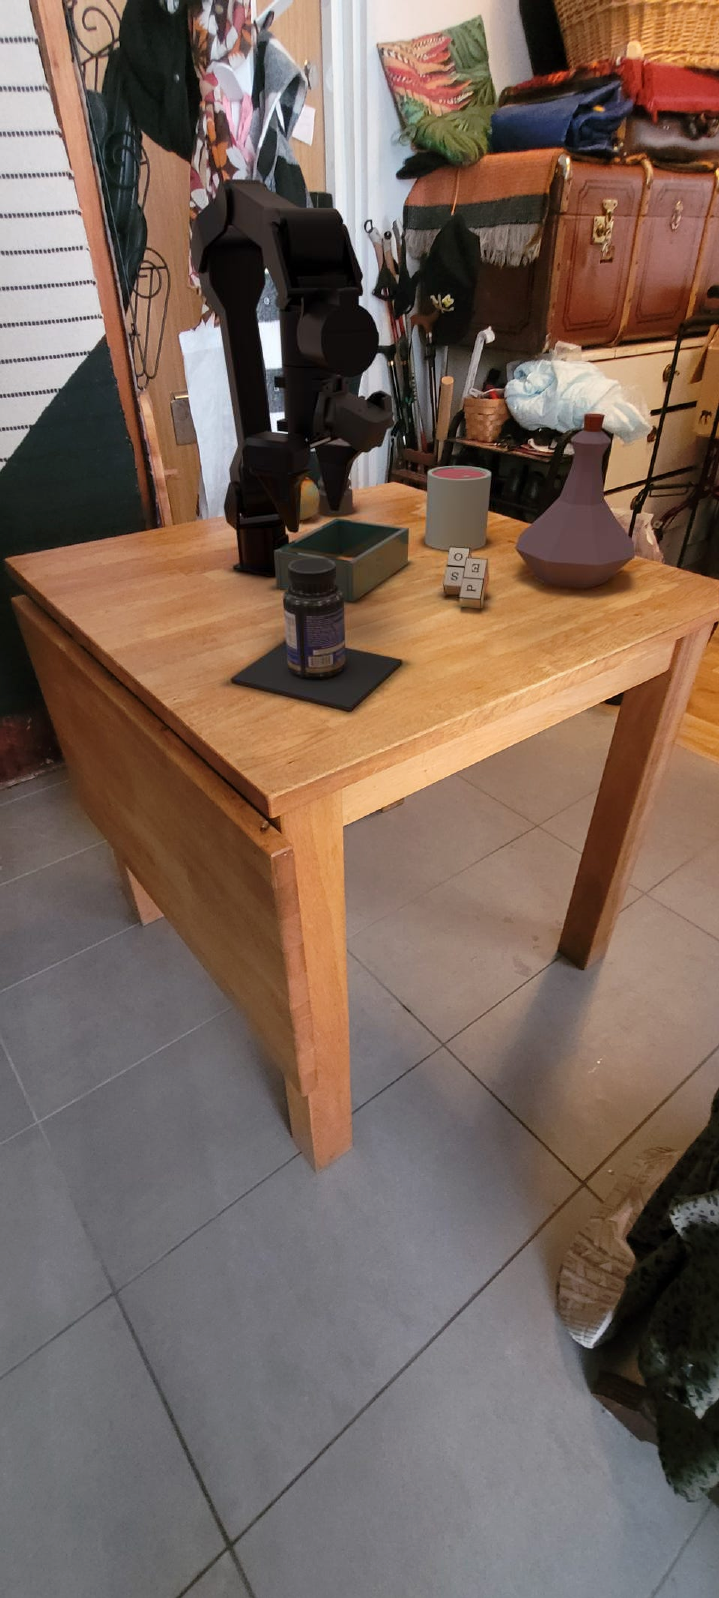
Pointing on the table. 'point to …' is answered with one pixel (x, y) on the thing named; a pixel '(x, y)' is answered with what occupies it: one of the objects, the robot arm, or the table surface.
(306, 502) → the ball
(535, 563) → the flask
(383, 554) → the teal open box
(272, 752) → the table surface
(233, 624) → the table surface
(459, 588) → the building blocks
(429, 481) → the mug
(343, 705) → the mat
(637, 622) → the table surface
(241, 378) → the robot arm
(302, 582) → the pill bottle
